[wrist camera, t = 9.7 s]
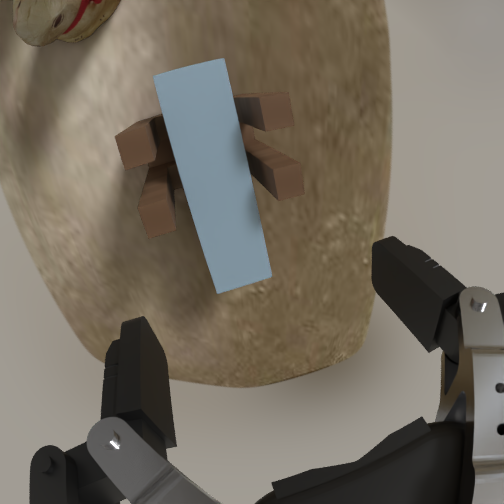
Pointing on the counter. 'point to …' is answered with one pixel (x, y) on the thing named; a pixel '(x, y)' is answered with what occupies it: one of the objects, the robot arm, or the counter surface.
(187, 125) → the rail
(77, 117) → the counter surface
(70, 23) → the chocolate bunny
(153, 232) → the wooden stool base
